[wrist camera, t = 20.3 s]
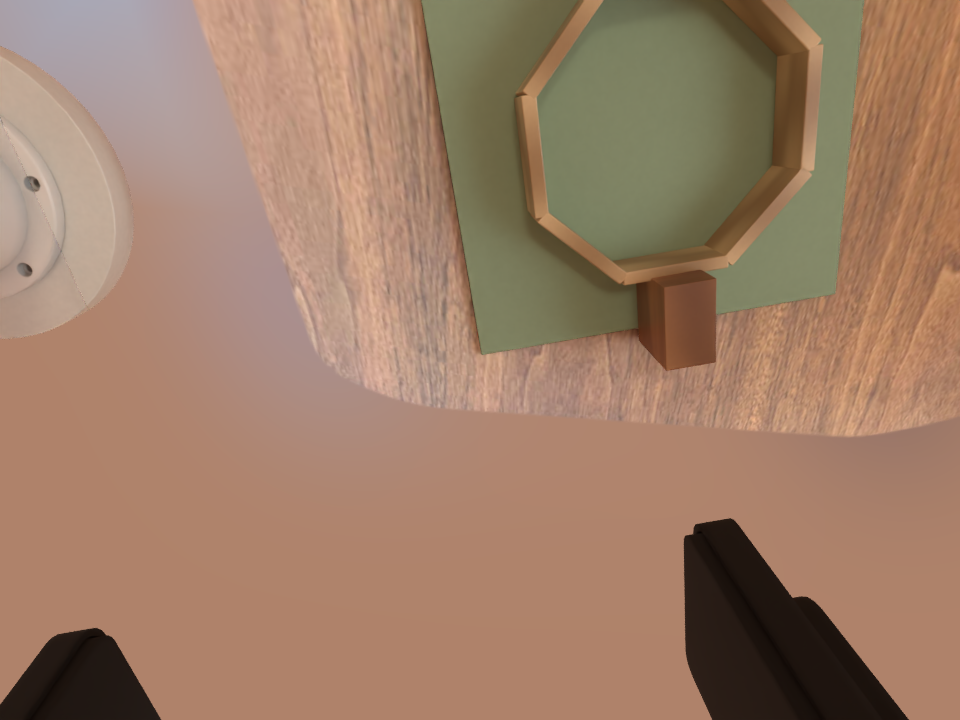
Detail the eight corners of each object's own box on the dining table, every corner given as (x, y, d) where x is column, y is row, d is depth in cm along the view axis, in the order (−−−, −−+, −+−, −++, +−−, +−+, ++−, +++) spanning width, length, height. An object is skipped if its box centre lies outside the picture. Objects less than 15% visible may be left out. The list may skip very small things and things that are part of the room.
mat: (481, 352, 38) (481, 355, 38) (407, -79, 28) (407, -82, 28) (831, 292, 38) (835, 294, 38) (875, -160, 28) (880, -163, 28)
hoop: (545, 357, 38) (559, 389, 33) (501, 0, 30) (513, -22, 25) (775, 317, 38) (822, 344, 33) (796, -51, 30) (861, -82, 25)
